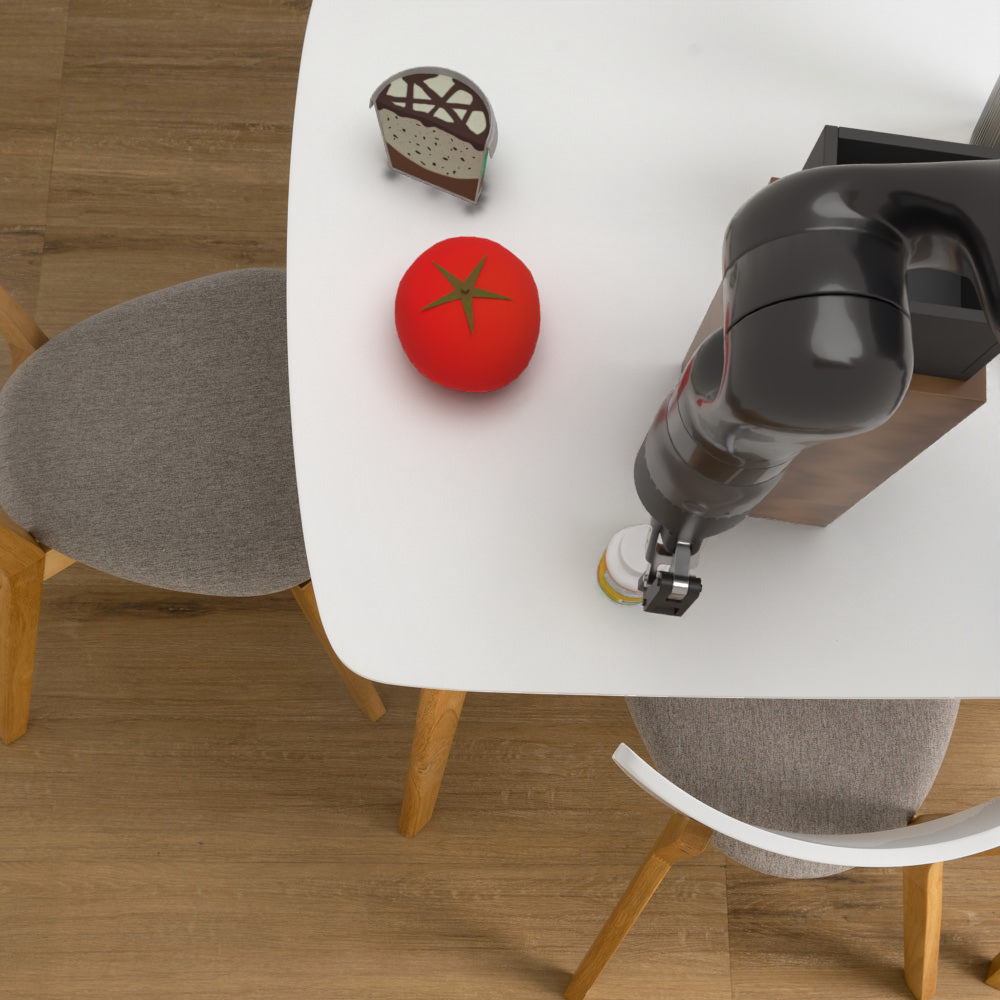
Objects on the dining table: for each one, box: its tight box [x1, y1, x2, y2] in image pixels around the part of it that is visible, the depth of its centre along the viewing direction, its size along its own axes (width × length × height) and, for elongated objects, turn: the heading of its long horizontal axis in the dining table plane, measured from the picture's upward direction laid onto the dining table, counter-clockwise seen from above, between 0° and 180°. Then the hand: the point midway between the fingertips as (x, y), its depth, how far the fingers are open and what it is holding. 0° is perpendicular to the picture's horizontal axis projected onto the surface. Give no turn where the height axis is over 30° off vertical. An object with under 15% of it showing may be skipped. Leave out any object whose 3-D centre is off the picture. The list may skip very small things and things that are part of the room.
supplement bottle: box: [596, 523, 671, 607], centre depth 79 cm, size 5×5×10 cm
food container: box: [368, 65, 499, 205], centre depth 91 cm, size 12×6×10 cm, turn 65°
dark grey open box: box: [801, 124, 1000, 381], centre depth 58 cm, size 12×12×7 cm
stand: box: [680, 176, 987, 528], centre depth 74 cm, size 14×14×28 cm
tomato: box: [394, 235, 542, 394], centre depth 85 cm, size 14×13×10 cm
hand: (657, 530), depth 69 cm, fingers open, 8 cm apart
